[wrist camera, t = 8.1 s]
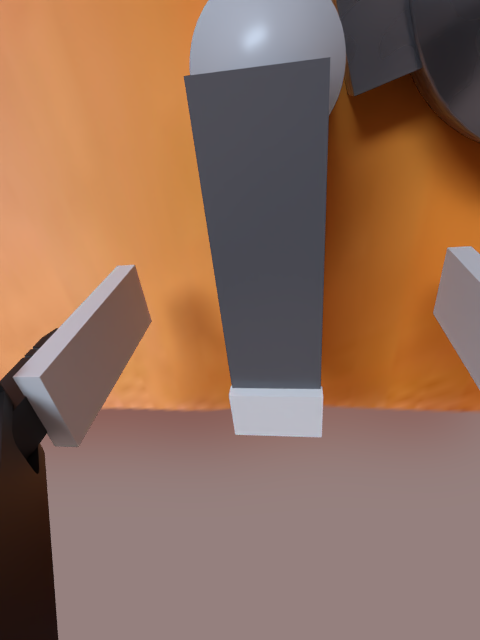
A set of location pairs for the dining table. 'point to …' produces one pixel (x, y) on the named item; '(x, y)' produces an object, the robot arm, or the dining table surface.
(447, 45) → the base
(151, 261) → the dining table surface
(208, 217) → the dark bar with dome
